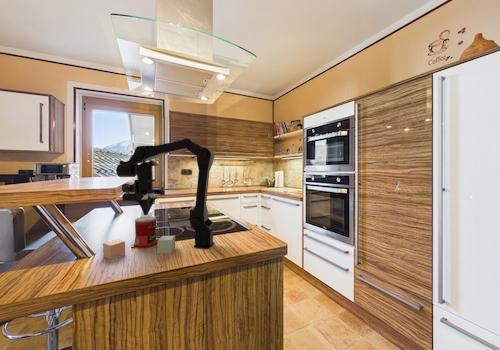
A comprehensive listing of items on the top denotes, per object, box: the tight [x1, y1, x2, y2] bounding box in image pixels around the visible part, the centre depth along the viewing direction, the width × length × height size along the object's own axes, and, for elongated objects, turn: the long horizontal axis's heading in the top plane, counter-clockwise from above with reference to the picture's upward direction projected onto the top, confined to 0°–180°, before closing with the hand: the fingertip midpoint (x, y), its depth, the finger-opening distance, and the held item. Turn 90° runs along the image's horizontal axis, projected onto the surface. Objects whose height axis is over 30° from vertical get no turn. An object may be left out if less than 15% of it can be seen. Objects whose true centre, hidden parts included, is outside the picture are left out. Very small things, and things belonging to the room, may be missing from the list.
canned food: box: [134, 215, 157, 249], centre depth 90 cm, size 8×8×11 cm
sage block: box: [157, 235, 176, 254], centre depth 83 cm, size 5×5×5 cm
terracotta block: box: [102, 238, 126, 261], centre depth 79 cm, size 5×5×5 cm
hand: (145, 215), depth 89 cm, fingers closed
